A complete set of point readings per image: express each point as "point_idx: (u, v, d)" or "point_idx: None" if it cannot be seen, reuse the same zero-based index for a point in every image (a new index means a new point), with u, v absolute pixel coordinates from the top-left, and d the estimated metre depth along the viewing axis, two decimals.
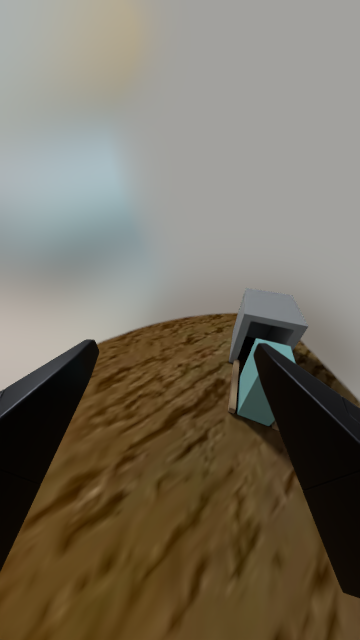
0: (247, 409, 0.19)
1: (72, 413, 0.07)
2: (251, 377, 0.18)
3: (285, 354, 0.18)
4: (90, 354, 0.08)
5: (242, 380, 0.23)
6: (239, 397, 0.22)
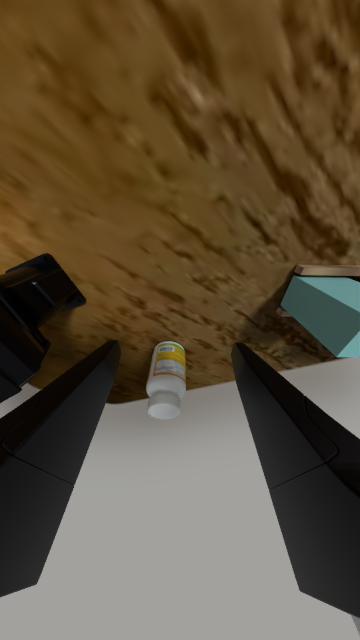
0: (302, 288, 0.17)
1: (100, 414, 0.07)
2: (358, 303, 0.12)
3: None
4: (114, 354, 0.08)
5: (343, 283, 0.16)
6: (315, 278, 0.17)
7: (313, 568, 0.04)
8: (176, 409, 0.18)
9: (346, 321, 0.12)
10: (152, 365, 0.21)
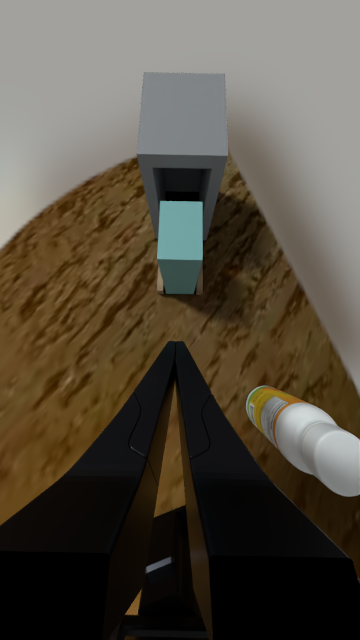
0: (170, 288, 0.20)
1: (169, 415, 0.07)
2: None
3: (193, 218, 0.14)
4: None
5: None
6: None
7: (193, 564, 0.04)
8: (330, 438, 0.11)
9: (169, 266, 0.14)
10: None
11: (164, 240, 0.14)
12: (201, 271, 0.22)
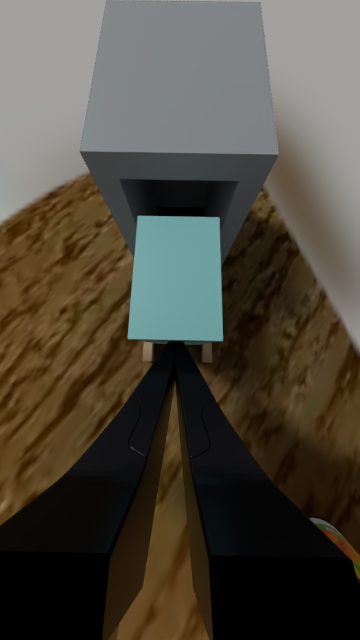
0: (163, 343, 0.13)
1: (169, 415, 0.07)
2: None
3: (202, 250, 0.07)
4: None
5: None
6: None
7: (193, 564, 0.04)
8: None
9: (157, 340, 0.07)
10: None
11: (144, 297, 0.07)
12: None
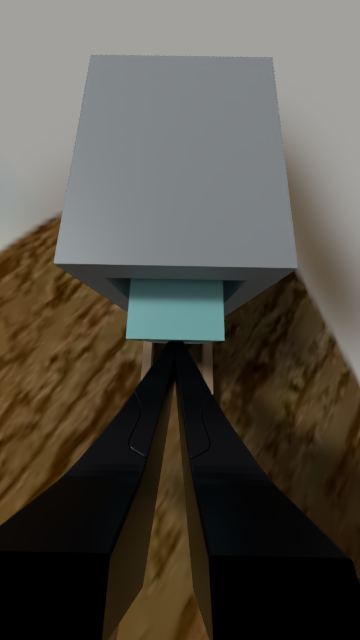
0: None
1: (169, 415, 0.07)
2: None
3: None
4: None
5: None
6: None
7: (193, 565, 0.04)
8: None
9: (156, 340, 0.07)
10: None
11: (143, 295, 0.06)
12: (211, 385, 0.13)
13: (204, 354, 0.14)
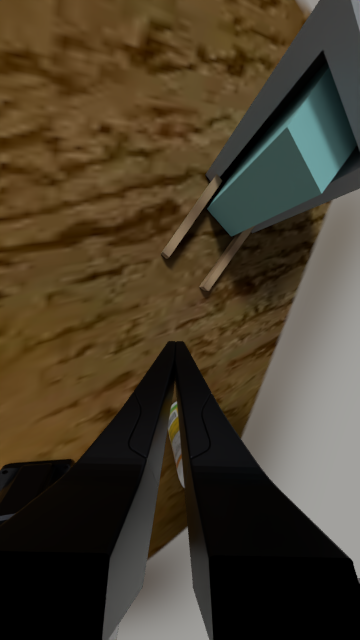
0: (222, 204, 0.14)
1: (169, 415, 0.07)
2: (265, 143, 0.10)
3: None
4: None
5: (243, 161, 0.14)
6: (222, 188, 0.15)
7: (193, 565, 0.04)
8: None
9: (278, 163, 0.09)
10: (173, 452, 0.17)
11: (314, 108, 0.08)
12: (223, 267, 0.17)
13: (234, 244, 0.17)
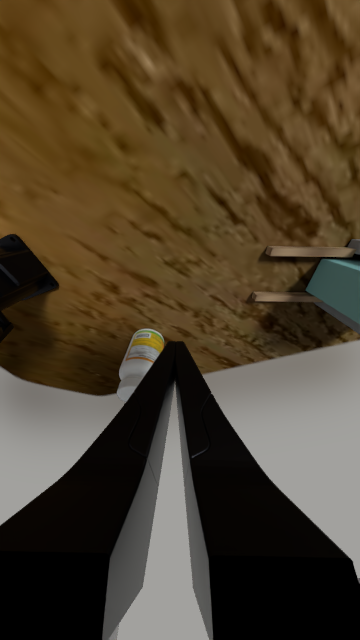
0: (333, 270, 0.16)
1: (169, 415, 0.07)
2: None
3: None
4: None
5: None
6: (345, 260, 0.17)
7: (193, 565, 0.04)
8: None
9: None
10: (127, 351, 0.21)
11: None
12: (279, 300, 0.20)
13: (301, 296, 0.19)
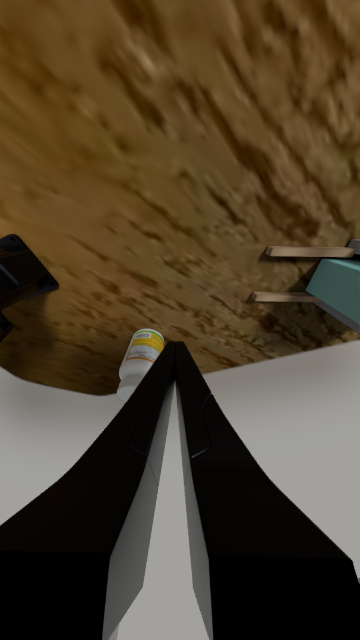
0: (333, 270, 0.16)
1: (169, 415, 0.07)
2: None
3: None
4: None
5: None
6: (345, 260, 0.17)
7: (193, 564, 0.04)
8: None
9: None
10: (127, 351, 0.21)
11: None
12: (279, 300, 0.20)
13: (301, 296, 0.19)
